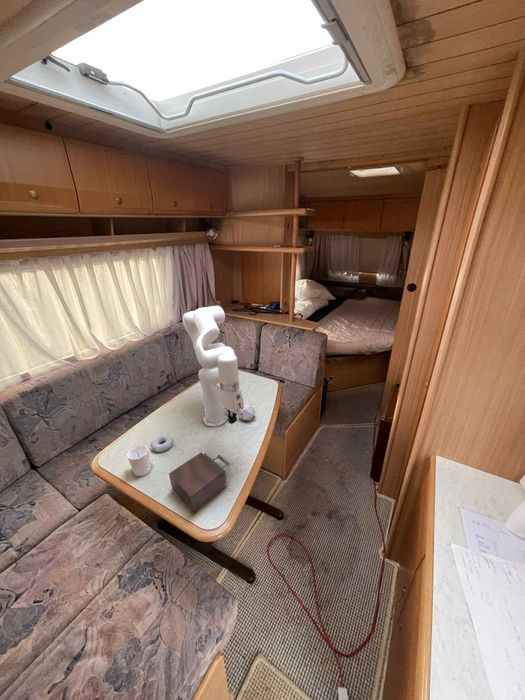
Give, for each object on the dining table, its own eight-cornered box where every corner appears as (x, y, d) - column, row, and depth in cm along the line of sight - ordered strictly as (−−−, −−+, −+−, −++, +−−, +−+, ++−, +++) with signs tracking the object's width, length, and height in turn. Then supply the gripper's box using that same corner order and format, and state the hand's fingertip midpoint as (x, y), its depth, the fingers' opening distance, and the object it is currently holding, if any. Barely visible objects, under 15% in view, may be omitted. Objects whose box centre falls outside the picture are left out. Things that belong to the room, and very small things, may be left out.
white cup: (140, 480, 112) (135, 462, 108) (128, 472, 116) (123, 454, 112) (156, 467, 118) (151, 449, 114) (144, 460, 122) (140, 442, 118)
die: (237, 415, 150) (233, 410, 142) (248, 403, 153) (245, 397, 144) (247, 426, 147) (244, 421, 138) (259, 413, 149) (256, 408, 141)
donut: (164, 455, 124) (177, 440, 132) (163, 450, 122) (176, 435, 131) (147, 451, 127) (160, 436, 136) (145, 445, 126) (159, 431, 134)
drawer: (215, 458, 120) (214, 446, 117) (236, 475, 111) (235, 462, 109) (178, 485, 108) (175, 472, 105) (198, 506, 99) (195, 493, 97)
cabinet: (203, 467, 117) (201, 452, 113) (225, 487, 107) (223, 471, 104) (172, 489, 107) (168, 473, 104) (193, 514, 98) (190, 497, 94)
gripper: (249, 386, 105) (251, 425, 112) (224, 374, 115) (228, 410, 122) (234, 395, 100) (237, 434, 107) (210, 381, 110) (214, 418, 117)
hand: (232, 421), depth 115 cm, fingers closed
